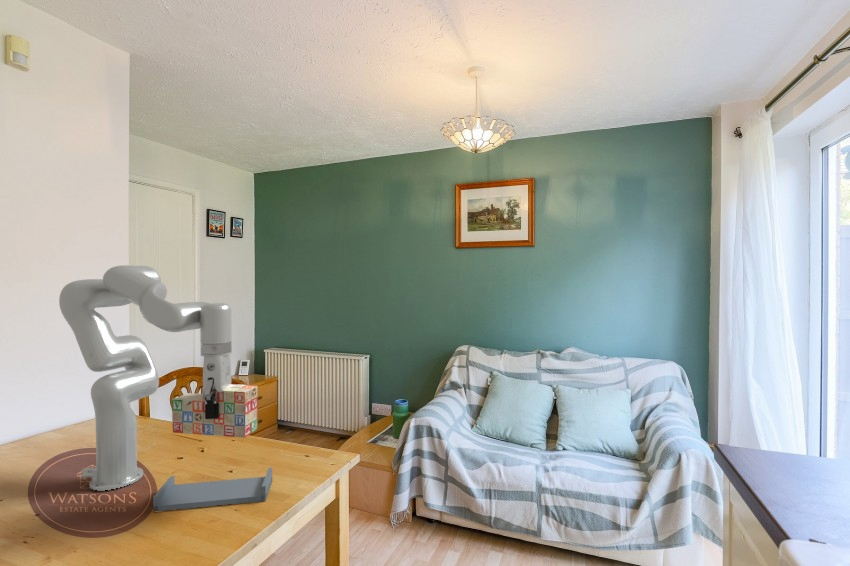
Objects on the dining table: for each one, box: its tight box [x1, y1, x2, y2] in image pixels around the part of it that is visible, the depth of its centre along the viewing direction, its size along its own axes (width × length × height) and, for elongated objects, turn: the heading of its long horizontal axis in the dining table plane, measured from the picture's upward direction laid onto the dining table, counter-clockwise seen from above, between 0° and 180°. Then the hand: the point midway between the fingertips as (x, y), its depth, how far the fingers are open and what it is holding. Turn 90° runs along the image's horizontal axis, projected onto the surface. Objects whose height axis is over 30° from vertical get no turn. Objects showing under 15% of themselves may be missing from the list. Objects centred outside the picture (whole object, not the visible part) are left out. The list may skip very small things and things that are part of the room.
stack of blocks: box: [171, 383, 259, 439], centre depth 113 cm, size 21×6×12 cm, turn 82°
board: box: [152, 467, 273, 513], centre depth 113 cm, size 27×11×4 cm, turn 102°
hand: (216, 412), depth 113 cm, fingers closed on stack of blocks, 7 cm apart
